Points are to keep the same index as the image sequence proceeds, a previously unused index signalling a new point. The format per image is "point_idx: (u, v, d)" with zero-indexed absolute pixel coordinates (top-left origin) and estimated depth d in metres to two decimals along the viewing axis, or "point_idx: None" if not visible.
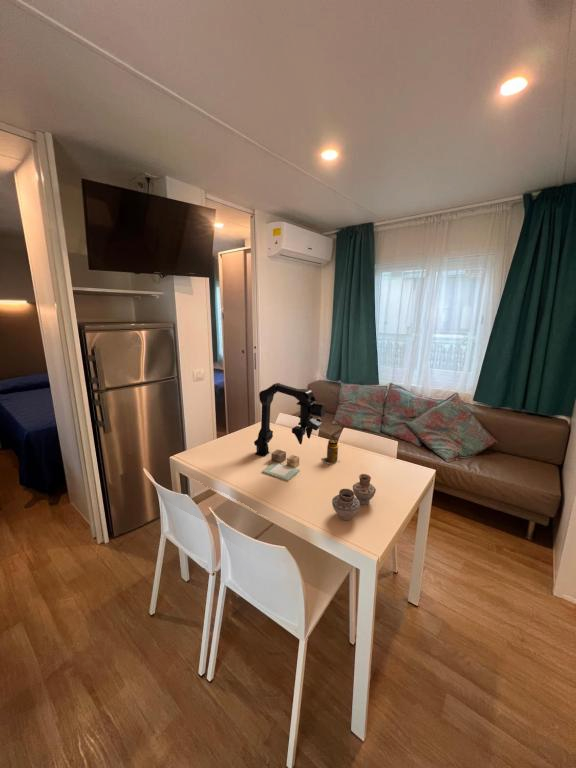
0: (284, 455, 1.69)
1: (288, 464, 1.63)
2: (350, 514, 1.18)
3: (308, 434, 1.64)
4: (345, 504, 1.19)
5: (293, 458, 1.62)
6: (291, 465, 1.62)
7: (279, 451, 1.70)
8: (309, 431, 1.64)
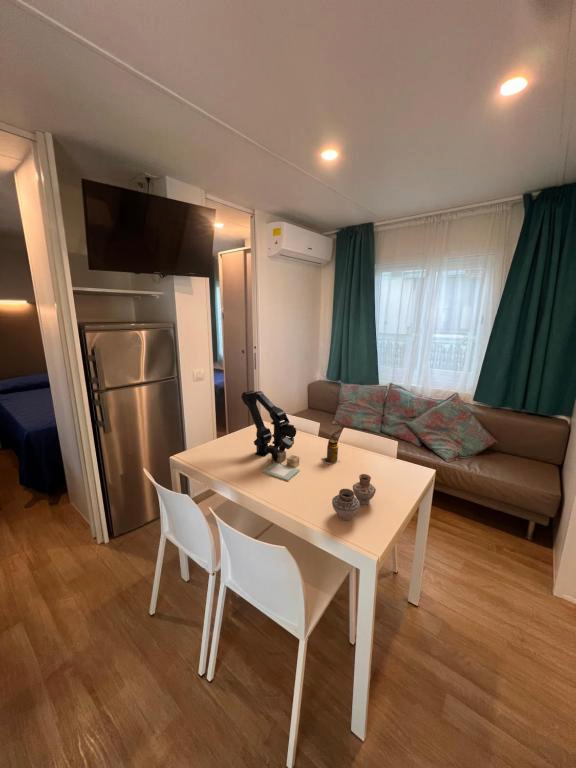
0: (284, 455, 1.69)
1: (288, 464, 1.63)
2: (350, 514, 1.18)
3: None
4: (345, 504, 1.19)
5: (293, 458, 1.62)
6: (291, 465, 1.62)
7: (279, 451, 1.70)
8: (282, 450, 1.72)
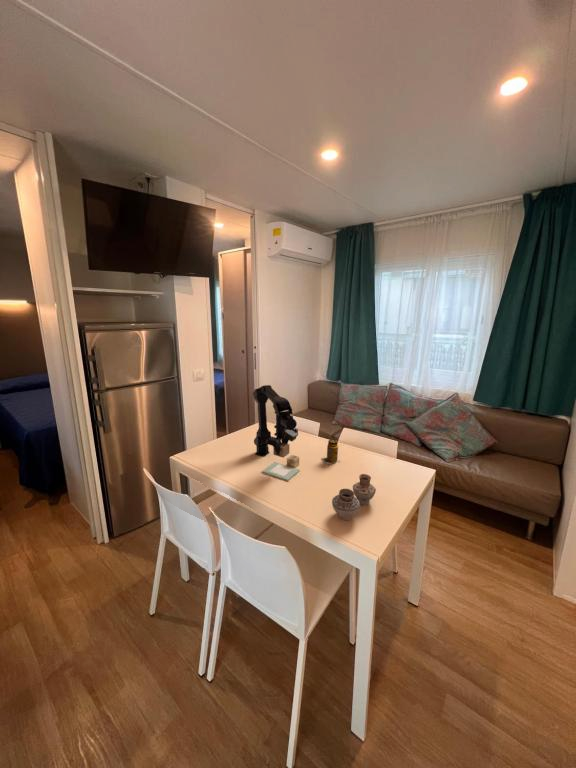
0: (287, 448, 1.55)
1: (288, 464, 1.63)
2: (350, 514, 1.18)
3: None
4: (345, 504, 1.19)
5: (293, 458, 1.62)
6: (291, 465, 1.62)
7: None
8: (285, 442, 1.57)
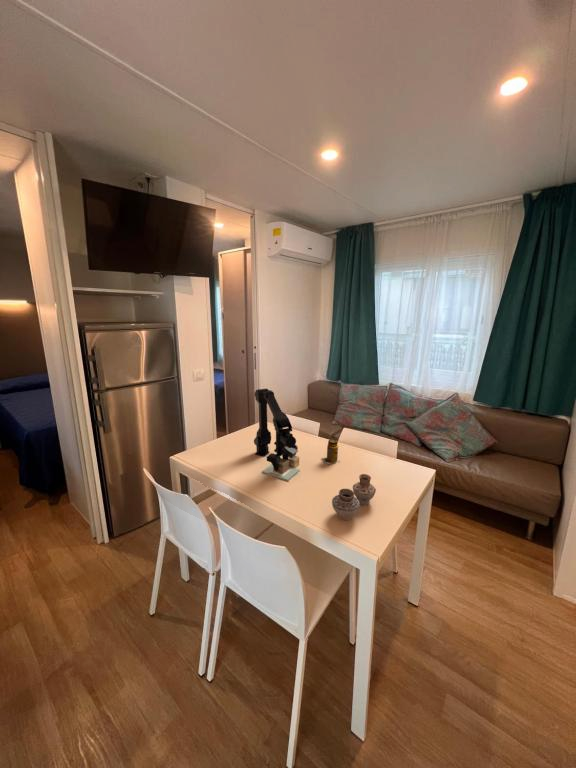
0: (287, 464, 1.57)
1: None
2: (350, 514, 1.18)
3: None
4: (345, 504, 1.19)
5: (293, 458, 1.62)
6: (291, 465, 1.62)
7: (282, 460, 1.58)
8: (285, 457, 1.60)
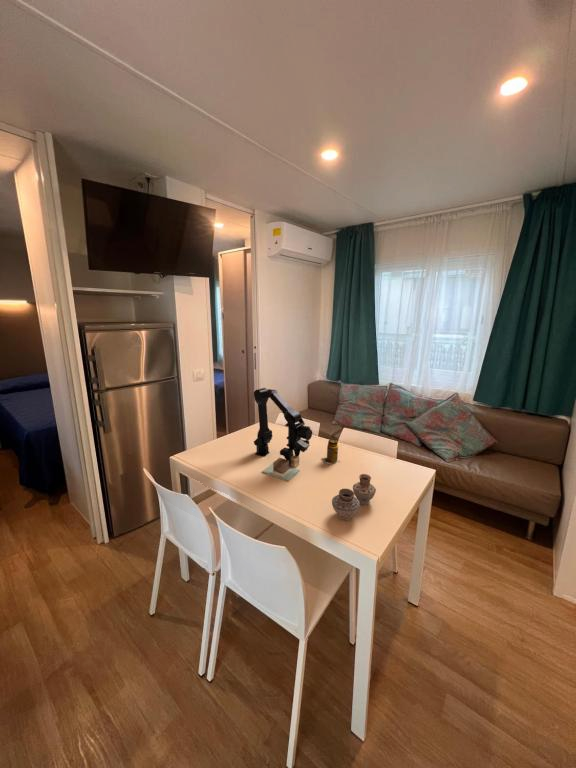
0: (287, 464, 1.57)
1: None
2: (350, 514, 1.18)
3: (296, 455, 1.67)
4: (345, 504, 1.19)
5: (293, 458, 1.62)
6: (291, 465, 1.62)
7: (282, 460, 1.58)
8: (297, 452, 1.66)
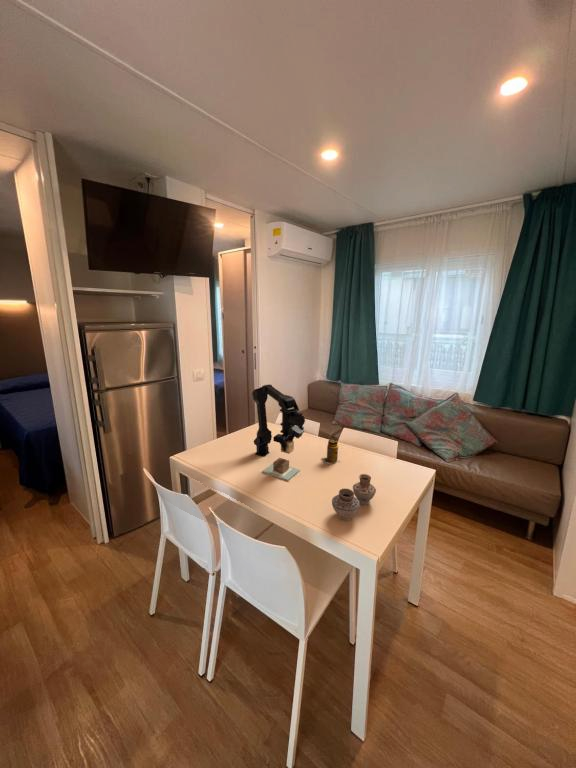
0: (287, 464, 1.57)
1: (282, 449, 1.57)
2: (350, 514, 1.18)
3: None
4: (345, 504, 1.19)
5: (287, 443, 1.56)
6: None
7: (282, 460, 1.58)
8: (290, 440, 1.60)
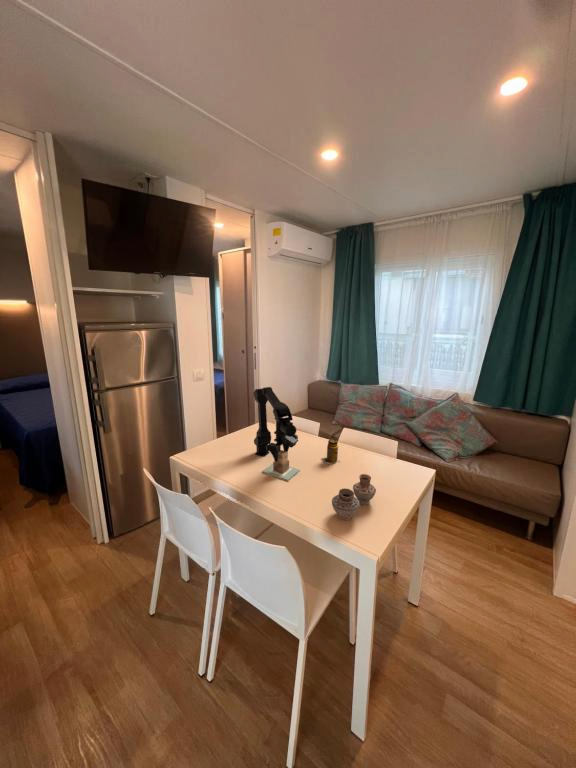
0: (287, 464, 1.57)
1: None
2: (349, 514, 1.18)
3: (285, 450, 1.59)
4: (345, 504, 1.19)
5: (281, 453, 1.54)
6: (279, 460, 1.54)
7: None
8: (286, 447, 1.59)
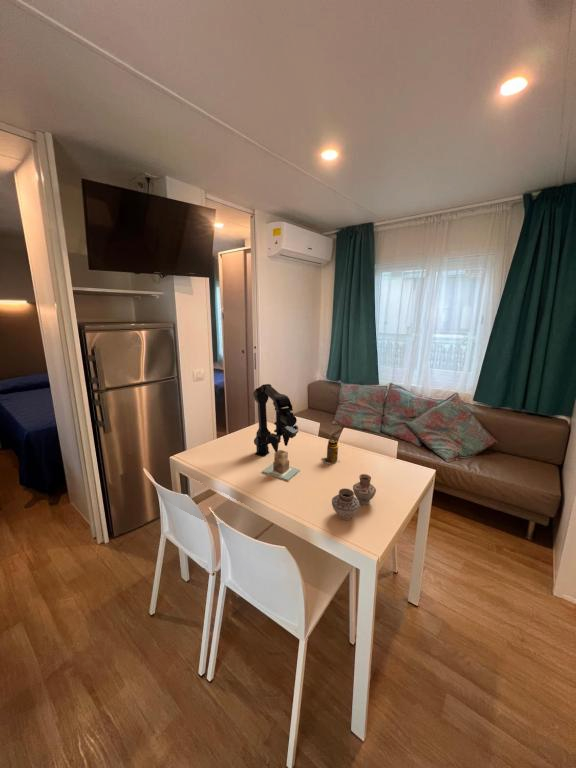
0: (287, 464, 1.57)
1: (276, 459, 1.55)
2: (349, 514, 1.18)
3: (285, 441, 1.58)
4: (344, 504, 1.19)
5: (281, 453, 1.54)
6: (279, 460, 1.54)
7: None
8: (286, 438, 1.58)
